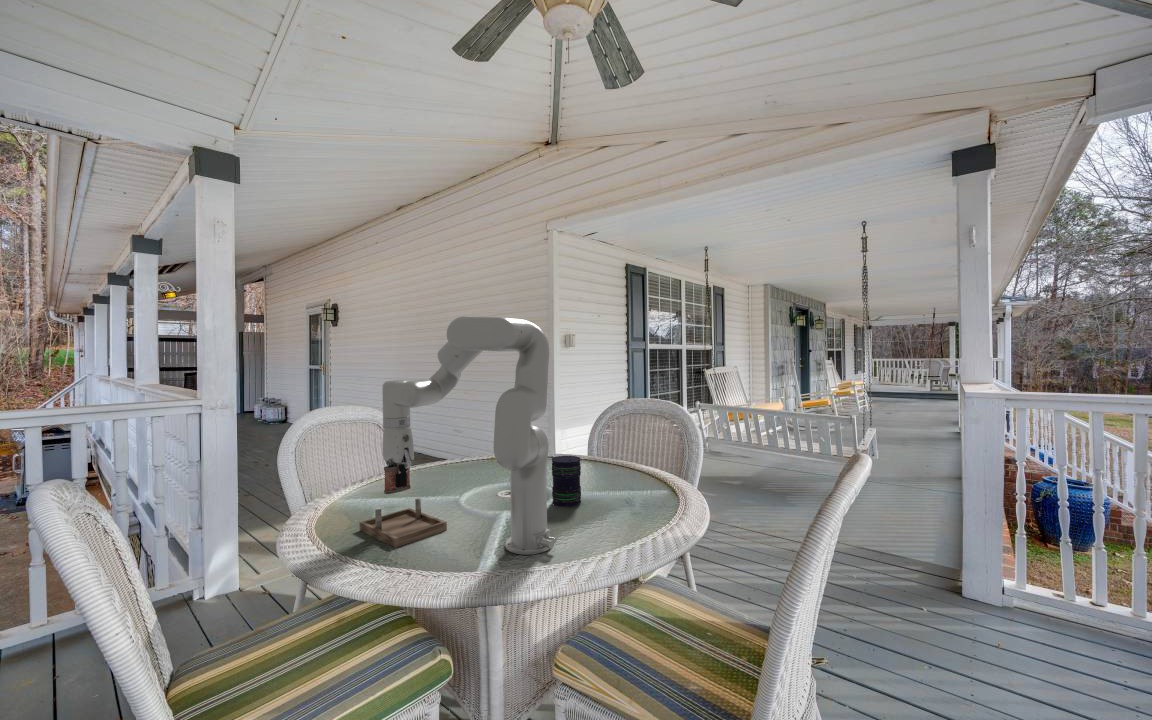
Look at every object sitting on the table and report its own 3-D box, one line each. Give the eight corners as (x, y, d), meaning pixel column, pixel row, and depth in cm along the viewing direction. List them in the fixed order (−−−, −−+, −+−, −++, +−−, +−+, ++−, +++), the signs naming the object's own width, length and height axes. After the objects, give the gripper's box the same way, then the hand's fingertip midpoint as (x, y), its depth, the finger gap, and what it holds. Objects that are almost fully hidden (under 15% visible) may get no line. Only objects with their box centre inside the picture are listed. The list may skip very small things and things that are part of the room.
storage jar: (547, 500, 167) (547, 457, 167) (573, 496, 171) (573, 454, 171) (559, 509, 158) (558, 463, 158) (586, 504, 162) (585, 460, 162)
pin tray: (446, 530, 141) (446, 505, 141) (395, 547, 129) (394, 520, 129) (409, 515, 154) (409, 492, 154) (359, 530, 142) (359, 505, 142)
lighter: (388, 495, 138) (387, 460, 138) (381, 492, 141) (381, 458, 140) (413, 488, 145) (412, 455, 145) (406, 486, 147) (406, 453, 147)
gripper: (423, 424, 140) (424, 487, 140) (394, 418, 150) (394, 478, 151) (399, 427, 134) (400, 493, 134) (370, 421, 145) (371, 483, 145)
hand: (397, 484), depth 143 cm, fingers closed on lighter, 3 cm apart
